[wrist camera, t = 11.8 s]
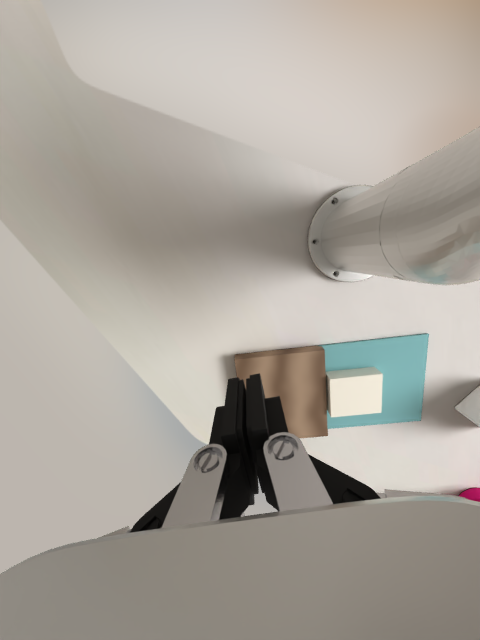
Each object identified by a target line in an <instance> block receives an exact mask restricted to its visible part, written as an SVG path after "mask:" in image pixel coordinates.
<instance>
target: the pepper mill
mask: <svg viewBox="0 0 480 640" xmlns="http://www.w3.org/2000/svg"><path fill="white" fill-rule="evenodd" d="M459 496H460V497H464V498H466V499H468V500H472V501H477V502H480V488H471V489H468V490H466V491H464V492H462V493H461V494H460V495H459Z"/></svg>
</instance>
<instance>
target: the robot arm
mask: <svg viewBox="0 0 480 640" xmlns="http://www.w3.org/2000/svg"><path fill="white" fill-rule="evenodd" d="M331 201H334V204H332V202H331ZM313 240H315V244H313V243H312V241H313ZM308 248H309V253H310V256H311V258H312V260H313V262H314V264H315V265H316V267H317V268H318V269H319V270H320V271H321V272H322V273H323V274H325V275H326V276H328V277H329V278H332V279H335V280H337V281H342V282H358V281H362V280H365V279H368V278H370V277H372V276H374V275H375V276H381V277H388V278H394V279H401V280H407V281H413V282H420V283H428V284H435V285H459V284H465V283H470V282H474V281H478V280H480V126H479V127H478V128H476V129H474V130H473V131H471V132H470V133H468V134H466V135H465V136H463V137H461V138H459V139H458V140H456V141H454V142H452V143H451V144H449V145H447V146H446V147H444V148H442V149H440V150H438V151H436V152H435V153H433V154H431V155H429V156H427V157H425V158H424V159H422V160H420V161H419V162H417V163H415V164H413V165H411V166H409V167H407V168H406V169H404V170H402V171H400V172H398V173H397V174H395V175H393V176H391V177H389V178H387V179H386V180H384V181H382V182H380V183H379V184H377V185H375V186H369V185H355V186H351V187H347V188H345V189H343V190H340V191H338V192H337V193H335V194H334V195H332V196H331V197H330V198H328V199H327V200H326V201H325V202H324V203H323V204H322V205H321V206H320V208H319V209H318V210H317V212H316V214H315V215H314V217H313V219H312V222H311V225H310V228H309V233H308ZM334 272H335V275H333V273H334ZM258 479H259V483H260V486H261V490H262V493H265V496H266V500H267V502H268V503H269V504H271V505H272V506H273V507H274V508H276V509H277V510H278V512H273V513H265V514H257V515H250V516H245V514H244V511H245V510H246V508H247V507H248V506H249V505H253V504H254V494H258ZM0 640H480V502H477V501H472V500H468V499H466V498H464V497H460V496H455V495H446V494H434V493H422V492H410V491H398V490H386V489H385V493H376V492H375V491H374V490H373V489H371V488H370V487H368V486H367V485H365V484H363V483H361V482H359V481H358V480H356V479H354V478H352V477H350V476H348V475H346V474H344V473H342V472H341V471H339V470H337V469H335V468H333V467H331V466H329V465H327V464H326V463H324V462H322V461H320V460H318V459H316V458H314V457H312V456H310V455H309V454H307V452H306V450H305V448H304V446H303V444H302V442H301V440H300V439H299V438H298V437H297V436H295V435H294V434H291V433H289V432H288V428H287V424H286V420H285V416H284V412H283V408H282V404H281V400H280V396H276V397H271V398H265V394H264V389H263V385H262V380H261V376H260V373H259V374H254V375H250V378H247V379H246V388H245V384H244V380H243V379H242V380H240V379H239V377H238V378H232V379H228V385H227V392H226V400H225V406H221V407H217V408H216V411H215V416H214V422H213V427H212V432H211V437H210V442H209V445H206V446H204V447H202V448H200V449H199V450H198V451H197V452H196V453H195V454H194V455H193V457H192V458H191V460H190V463H189V465H188V467H187V469H186V472H185V474H184V476H183V479H182V481H181V483H179V484H178V485H177V486H176V487H175V488H174V489H173V490H172V491H170V492H169V493H168V494H167V495H166V496H165V497H164V498H163V499H162V500H160V501H159V502H158V503H157V504H156V505H155V506H154V507H153V508H151V509H150V510H149V511H148V512H147V513H146V514H145V515H144V516H143V517H141V518H140V519H139V521H138V522H137V523H136V524H135V525H134V526H133V528H132V529H130V528H129V526H127V527H125V528H122V529H120V530H117V531H115V532H112V533H109V534H107V535H104V536H102V537H99V538H97V539H91V540H86V541H81V542H77V543H72V544H67V545H64V546H61V547H57V548H54V549H51V550H48V551H45V552H43V553H40V554H38V555H35V556H33V557H30V558H28V559H27V560H25V561H23V562H21V563H19V564H17V565H15V566H13V567H11V568H9V569H8V570H6V571H5V572H3V573H1V574H0Z"/></svg>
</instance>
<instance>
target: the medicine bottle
mask: <svg viewBox="0 0 480 640" xmlns="http://www.w3.org/2000/svg"><path fill="white" fill-rule="evenodd" d="M455 409H456V410H457V411H458V412H460V413H461V414H462V415H464V416H465V417H467V418H468V419H469V420H471V421H472V422H473V423H475V424H476V425H477V426H479V427H480V385H479V386H478V387H477V388H476V389H475V390H474V391H472V392H471V393H470V394H469V395H468V396H467V397H466V398H465V399H463V400H462V401H461V402H460V403H459V404H458V405H457V406H455Z"/></svg>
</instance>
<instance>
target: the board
mask: <svg viewBox="0 0 480 640" xmlns="http://www.w3.org/2000/svg"><path fill="white" fill-rule="evenodd" d="M234 361H235V367H236V374H237V378H238V377H239V379H240V380H242V379H243V380H244V384H245V388H246V379H247V378H250V375H254V374H259V373H260V376H261V380H262V385H263V389H264V394H265V398H271V397H276V396H280V400H281V404H282V408H283V412H284V416H285V420H286V424H287V428H288V432H289V433H291V434H294V435H295V436H297V437H298V438H308V437H320V436H328V428H327V400H326V372H325V350H324V349H323V347H322V346H318V345H317V346H308V347H299V348H290V349H281V350H272V351H263V352H254V353H245V354H236V355H235V359H234Z"/></svg>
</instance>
